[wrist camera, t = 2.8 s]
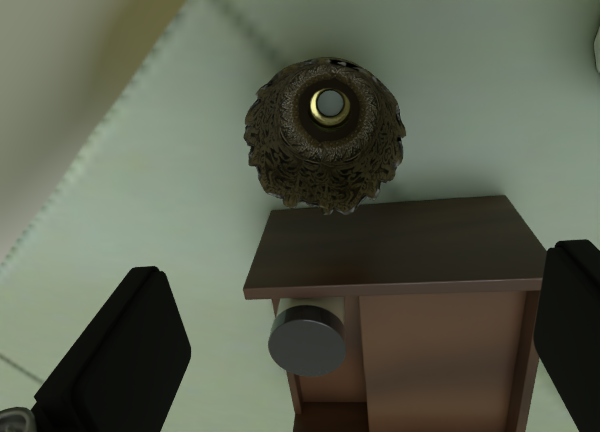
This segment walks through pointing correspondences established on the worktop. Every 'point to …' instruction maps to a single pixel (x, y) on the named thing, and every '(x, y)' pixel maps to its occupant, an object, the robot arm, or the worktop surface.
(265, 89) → the brown hollow bell-shaped piece
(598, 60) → the white cup
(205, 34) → the worktop surface
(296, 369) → the spice jar
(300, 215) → the spice rack
